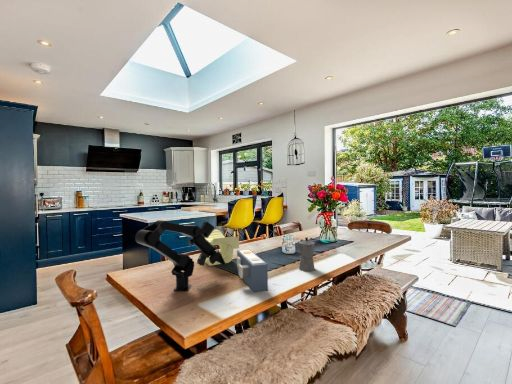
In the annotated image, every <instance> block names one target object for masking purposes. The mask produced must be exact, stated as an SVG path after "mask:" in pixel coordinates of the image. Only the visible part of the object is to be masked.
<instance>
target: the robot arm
mask: <svg viewBox="0 0 512 384" xmlns="http://www.w3.org/2000/svg"><path fill="white" fill-rule="evenodd" d="M213 230H215V227H214V225H213V224H211V223H210V222H208V221H204V222H203V223H202V225H201V226H199V225H193V224H178V223H174V222H169V221H167V220H163V219H162V220H159V219H158V220H156V221H155V222H154V221H153V223H152V224H149V225H147V226H145V227H143V228H142V229H139V230H138V231H137V232H136V233H135V238H134V239H135V242H136V243H137V244H140V245H142V246H144V247H148V248H151V249H152V250H154V251H156V252H157V253H159V254H160V255H162V256H163V257H164V258H166V259H167V260H168V261H170V262H172V264H173V268H172V269H171V275H172V276H175V287H174V289H173V291H174V292H179V291H180V292H182V291H184V292H185V291H189V289H190V288H191V286H192V284H189V278H190V277H191V276H193V272H194V269H195V268H194V267H195V261H194V258H193V257H192V258H191V257H190V256H189V255H188V254H183V253H178V252H176V251H175V250H173V249H172V248H171V247H169V246H168V245H167V244H166V243H164V242H163V241H161V239H160V237H161V236H162V234H163V233H164V231H168V232H175V233H180V234H181V235H183V236H185V237H188V238H189V239H188V240H187V241H188V246H190V247H191V246H192V245H194V246H195V247H196V248H197V249H198V250H199V251H200V253H199V256H198V258H197V260H196V264H197V265H199V266H202V267H204V265H205V264H206V263H205V260H206V258H209V261H210V262H211V263H212V264H214V263H215V262H216V261H217V262H219V263H221V264H220V265H223V266H224V265H226V263H225V262H224V259H223V257H222V254H221V253H220V249H217V245H212V244H210V243H209V241H207V240H206V239H205V238H208V237H209V236H210V234H211V233H212V232H213Z"/></svg>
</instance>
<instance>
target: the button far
mask: <svg viewBox="0 0 512 384" xmlns="http://www.w3.org/2000/svg"><path fill="white" fill-rule="evenodd" d="M239 264H240V265H241V266H242V259H241V258H239V257H238V256H237V255H236V268H237V267H238V268H239Z"/></svg>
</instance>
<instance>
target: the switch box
mask: <svg viewBox="0 0 512 384" xmlns="http://www.w3.org/2000/svg"><path fill="white" fill-rule="evenodd" d="M237 256H238V257H239V258H241V259H242V265H248V266H249V274H250V276H243V278H242V279H243V281H244V282H245V284H246V286H248V288H249V289H250V290H251V291H252V293H258V292H264V291H265V292H266V291H268V290H269V282H268V281H269V280H268V279H269V278H268V277H269V276H268V271H269V270H268V267H269V266H268V263H267V262H265V261H264V260H263V259H262V258H261V257H260V256H258V255H257V254H256V253H254V251H252V250H251V249H240V250H239V249H236V257H237ZM236 270H237V274H239V268H238V267H237V266H236Z"/></svg>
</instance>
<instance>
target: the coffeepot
mask: <svg viewBox="0 0 512 384" xmlns="http://www.w3.org/2000/svg"><path fill="white" fill-rule="evenodd" d="M315 244H316V242H314V241H310V240H309V237H308V236H307V237H305V238H304V239H302V238H301V239H300V241H298V247H299V254H300V260H299V268H298V269H299V270H300V271H302V272H313V271H315V263H314V257H313V256H314V250H315Z"/></svg>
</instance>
